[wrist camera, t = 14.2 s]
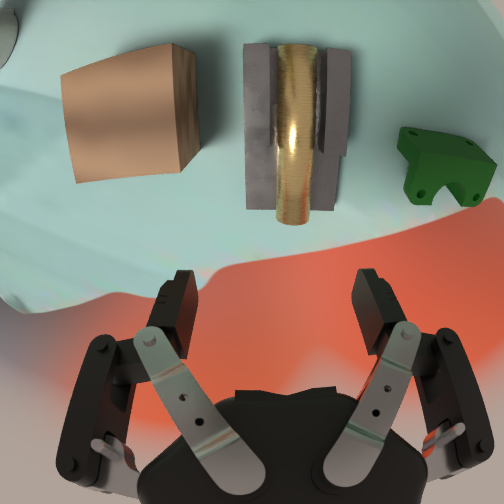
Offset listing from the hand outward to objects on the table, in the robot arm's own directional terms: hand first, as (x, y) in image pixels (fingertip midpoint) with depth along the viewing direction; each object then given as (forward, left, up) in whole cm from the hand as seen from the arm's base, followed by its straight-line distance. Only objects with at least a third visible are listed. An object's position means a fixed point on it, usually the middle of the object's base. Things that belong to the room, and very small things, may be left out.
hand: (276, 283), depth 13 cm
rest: (-5, +2, -17) cm, 17 cm away
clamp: (-3, +19, -17) cm, 26 cm away
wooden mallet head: (-8, -12, -17) cm, 22 cm away
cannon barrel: (-5, +2, -15) cm, 16 cm away
